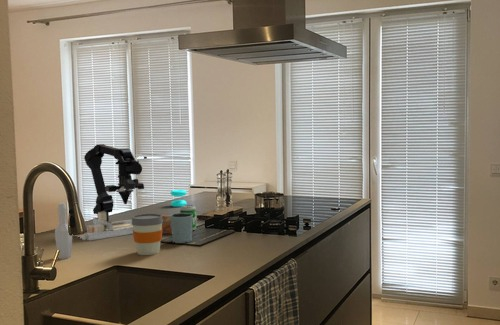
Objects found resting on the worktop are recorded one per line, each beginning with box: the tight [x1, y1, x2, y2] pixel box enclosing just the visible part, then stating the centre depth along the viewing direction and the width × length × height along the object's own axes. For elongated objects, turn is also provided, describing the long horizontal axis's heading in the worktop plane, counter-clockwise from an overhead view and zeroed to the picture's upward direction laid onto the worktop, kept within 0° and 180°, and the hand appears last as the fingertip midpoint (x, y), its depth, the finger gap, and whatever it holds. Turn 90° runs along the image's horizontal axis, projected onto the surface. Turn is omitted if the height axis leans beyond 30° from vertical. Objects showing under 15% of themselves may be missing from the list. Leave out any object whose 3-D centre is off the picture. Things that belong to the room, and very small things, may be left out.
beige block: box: [93, 224, 104, 232], centre depth 255 cm, size 4×4×3 cm
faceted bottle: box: [54, 202, 73, 260], centre depth 214 cm, size 6×6×22 cm
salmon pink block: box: [87, 225, 94, 233], centre depth 260 cm, size 4×4×3 cm
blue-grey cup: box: [169, 212, 193, 244], centre depth 239 cm, size 10×10×12 cm
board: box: [104, 223, 133, 231], centre depth 265 cm, size 13×15×2 cm
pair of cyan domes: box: [170, 189, 188, 208], centre depth 340 cm, size 10×10×10 cm
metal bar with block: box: [92, 212, 113, 230], centre depth 259 cm, size 20×3×7 cm, turn 38°
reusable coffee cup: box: [131, 213, 163, 256], centre depth 219 cm, size 13×13×15 cm
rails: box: [86, 218, 133, 242], centre depth 262 cm, size 21×31×3 cm
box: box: [77, 228, 88, 241], centre depth 256 cm, size 15×12×4 cm
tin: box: [162, 215, 172, 235], centre depth 259 cm, size 15×3×8 cm, turn 62°
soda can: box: [179, 204, 197, 232], centre depth 263 cm, size 8×8×12 cm
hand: (125, 204), depth 271 cm, fingers closed
